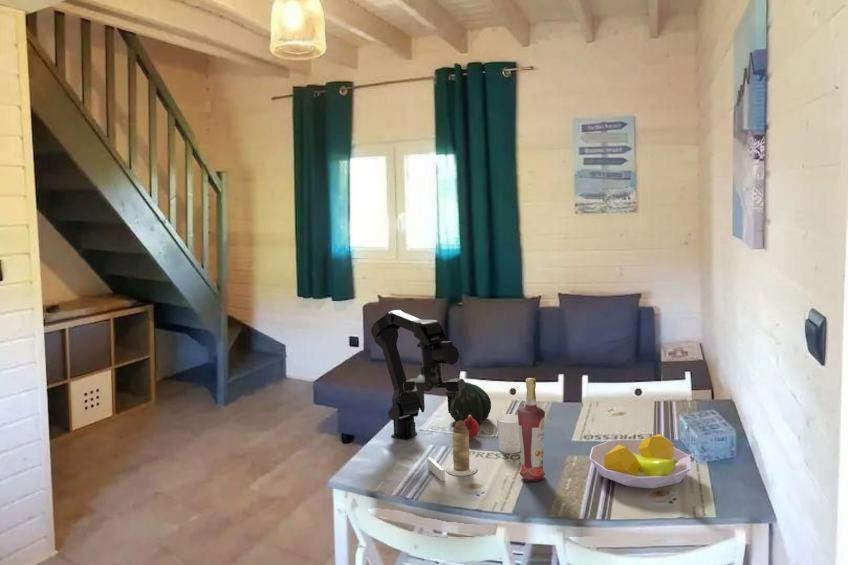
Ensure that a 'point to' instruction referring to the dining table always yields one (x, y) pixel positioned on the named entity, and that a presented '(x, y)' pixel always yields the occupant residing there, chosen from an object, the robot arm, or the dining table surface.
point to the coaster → (461, 473)
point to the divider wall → (436, 469)
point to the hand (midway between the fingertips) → (436, 412)
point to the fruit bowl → (641, 462)
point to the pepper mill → (461, 447)
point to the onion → (472, 426)
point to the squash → (471, 404)
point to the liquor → (531, 435)
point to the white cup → (508, 433)
